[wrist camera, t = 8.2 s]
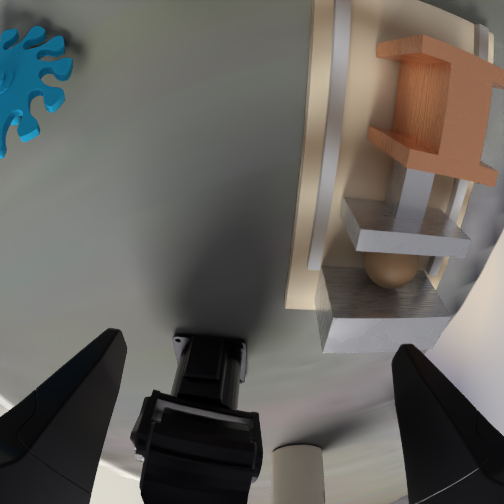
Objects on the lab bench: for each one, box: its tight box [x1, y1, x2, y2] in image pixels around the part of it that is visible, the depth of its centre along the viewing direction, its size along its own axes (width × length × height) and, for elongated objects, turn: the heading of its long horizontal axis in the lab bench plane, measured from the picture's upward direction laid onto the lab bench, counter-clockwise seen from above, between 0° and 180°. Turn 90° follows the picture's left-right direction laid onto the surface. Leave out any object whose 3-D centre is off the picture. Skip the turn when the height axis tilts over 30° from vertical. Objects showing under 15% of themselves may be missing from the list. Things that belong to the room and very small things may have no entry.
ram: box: [340, 34, 504, 258], centre depth 13 cm, size 10×7×5 cm
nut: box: [364, 252, 419, 289], centre depth 18 cm, size 4×4×4 cm
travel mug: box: [271, 444, 325, 504], centre depth 33 cm, size 8×8×18 cm
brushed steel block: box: [314, 265, 451, 353], centre depth 19 cm, size 3×8×5 cm, turn 88°
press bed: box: [285, 0, 494, 310], centre depth 17 cm, size 22×12×2 cm, turn 178°
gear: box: [0, 26, 73, 159], centre depth 13 cm, size 11×6×10 cm
